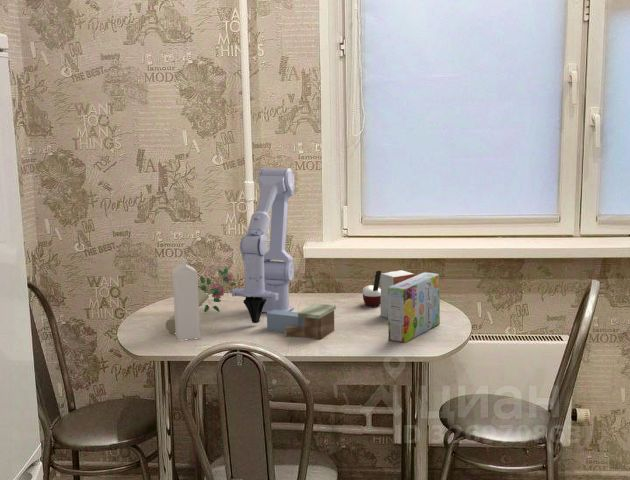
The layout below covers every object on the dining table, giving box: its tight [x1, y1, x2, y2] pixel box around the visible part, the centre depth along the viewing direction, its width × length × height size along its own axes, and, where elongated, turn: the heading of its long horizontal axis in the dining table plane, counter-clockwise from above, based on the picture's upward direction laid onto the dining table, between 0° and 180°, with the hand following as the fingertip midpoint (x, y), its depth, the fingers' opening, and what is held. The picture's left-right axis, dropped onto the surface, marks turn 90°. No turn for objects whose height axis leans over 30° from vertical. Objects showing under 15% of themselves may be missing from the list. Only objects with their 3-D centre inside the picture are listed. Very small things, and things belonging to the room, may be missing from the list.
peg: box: [266, 310, 305, 333], centre depth 225 cm, size 10×4×5 cm, turn 65°
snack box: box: [387, 272, 441, 343], centre depth 220 cm, size 21×6×15 cm, turn 145°
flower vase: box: [164, 267, 237, 334], centre depth 237 cm, size 12×12×35 cm
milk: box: [172, 257, 201, 341], centre depth 217 cm, size 6×6×22 cm
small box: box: [380, 269, 415, 318], centre depth 237 cm, size 8×6×13 cm
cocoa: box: [362, 270, 382, 308], centre depth 248 cm, size 10×6×12 cm, turn 177°
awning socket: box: [285, 302, 337, 340], centre depth 221 cm, size 10×12×7 cm
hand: (255, 322), depth 229 cm, fingers closed
